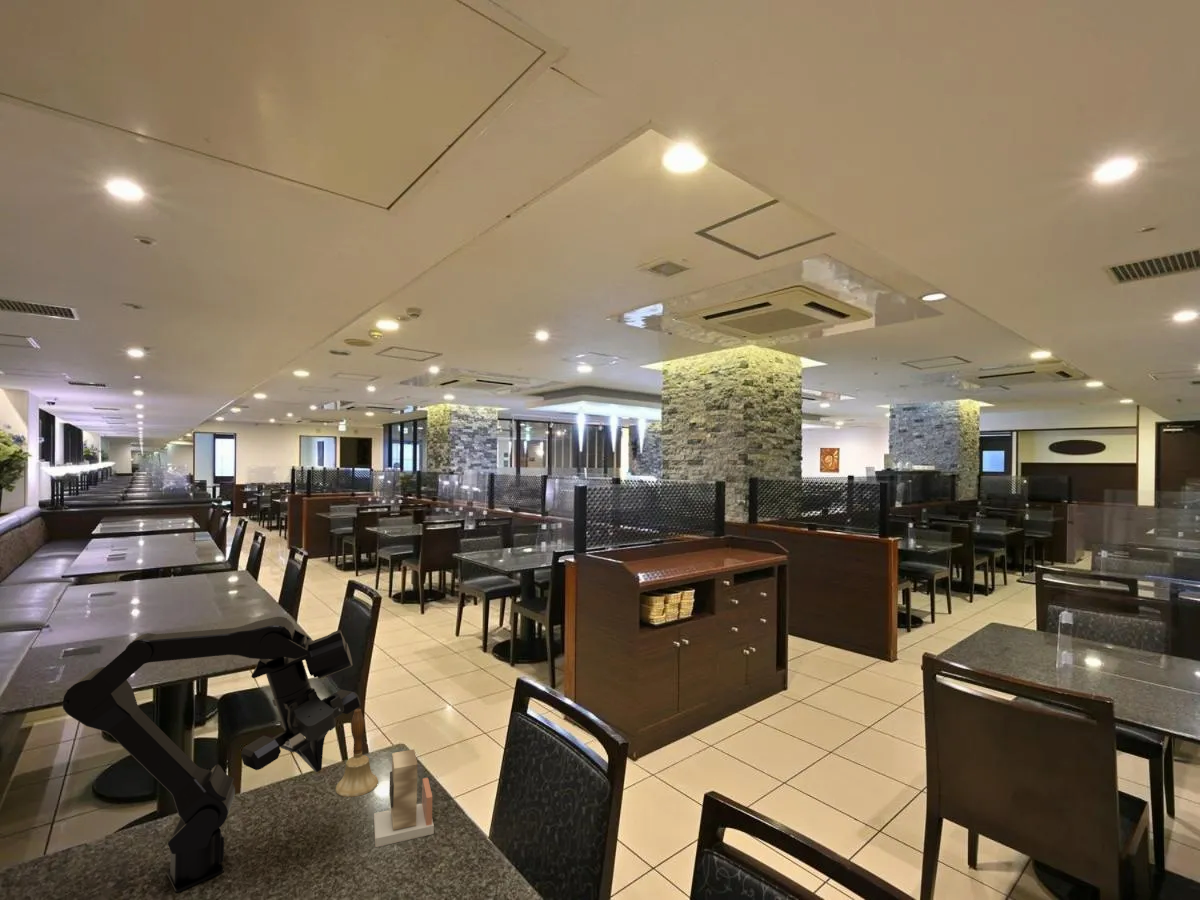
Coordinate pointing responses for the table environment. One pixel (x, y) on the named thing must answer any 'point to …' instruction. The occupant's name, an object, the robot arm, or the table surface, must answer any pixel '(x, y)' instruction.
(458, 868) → the table surface
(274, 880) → the table surface
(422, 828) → the base
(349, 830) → the table surface
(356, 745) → the hand bell
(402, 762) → the tan tall block
